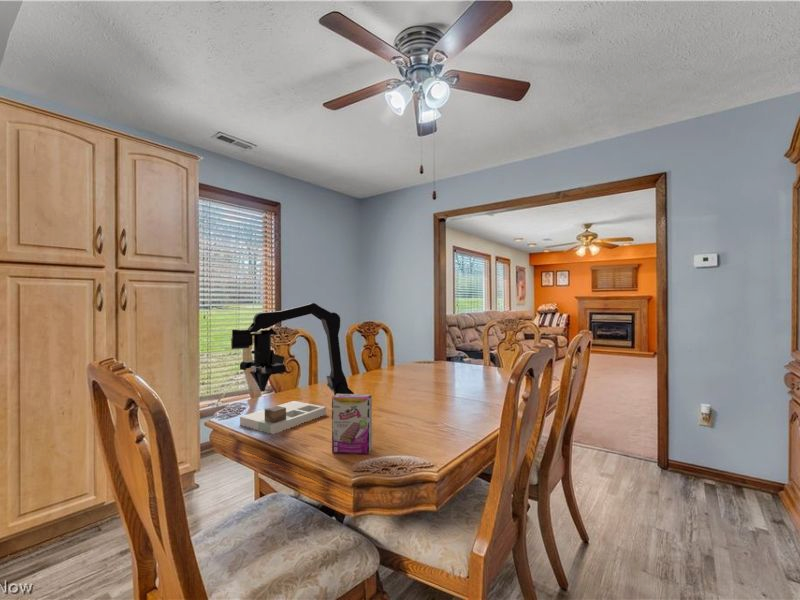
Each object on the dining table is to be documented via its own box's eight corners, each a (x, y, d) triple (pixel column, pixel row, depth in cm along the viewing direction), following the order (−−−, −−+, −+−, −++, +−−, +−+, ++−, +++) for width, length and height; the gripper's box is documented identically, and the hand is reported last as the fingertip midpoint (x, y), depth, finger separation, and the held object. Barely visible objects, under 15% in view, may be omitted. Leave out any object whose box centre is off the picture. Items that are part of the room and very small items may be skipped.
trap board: (326, 414, 148) (326, 407, 148) (273, 434, 127) (273, 425, 127) (294, 407, 158) (294, 400, 158) (239, 425, 137) (239, 416, 137)
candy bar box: (331, 454, 110) (330, 397, 110) (336, 447, 115) (335, 393, 115) (369, 455, 109) (369, 398, 109) (372, 448, 114) (372, 393, 114)
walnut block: (286, 419, 133) (285, 407, 133) (274, 423, 129) (274, 411, 129) (276, 416, 136) (276, 405, 136) (264, 420, 132) (264, 409, 132)
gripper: (297, 346, 139) (297, 389, 139) (264, 343, 149) (264, 383, 149) (272, 350, 129) (272, 396, 130) (238, 346, 140) (239, 389, 140)
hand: (262, 390), depth 137 cm, fingers closed
